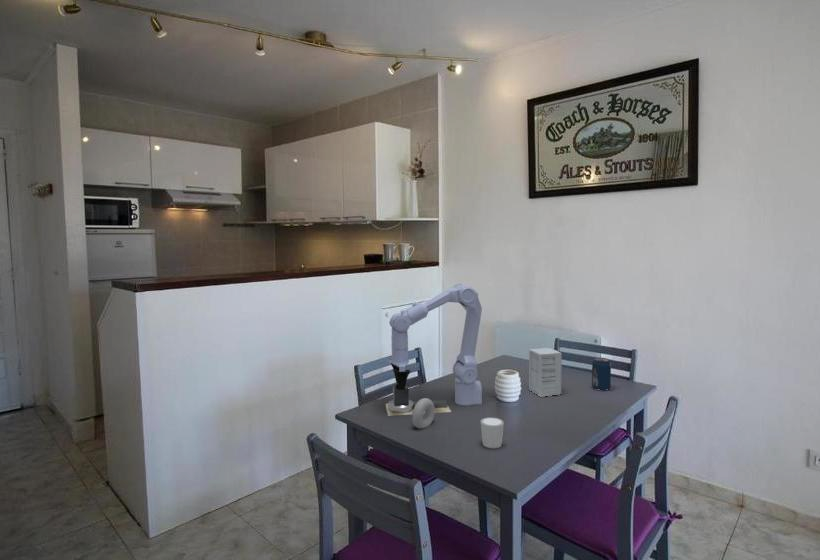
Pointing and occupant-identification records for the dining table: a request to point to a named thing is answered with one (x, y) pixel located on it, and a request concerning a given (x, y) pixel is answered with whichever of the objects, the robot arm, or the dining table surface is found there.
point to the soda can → (601, 373)
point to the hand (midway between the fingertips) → (400, 386)
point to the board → (437, 410)
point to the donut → (429, 413)
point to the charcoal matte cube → (400, 396)
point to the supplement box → (545, 371)
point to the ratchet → (412, 404)
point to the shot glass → (492, 432)
